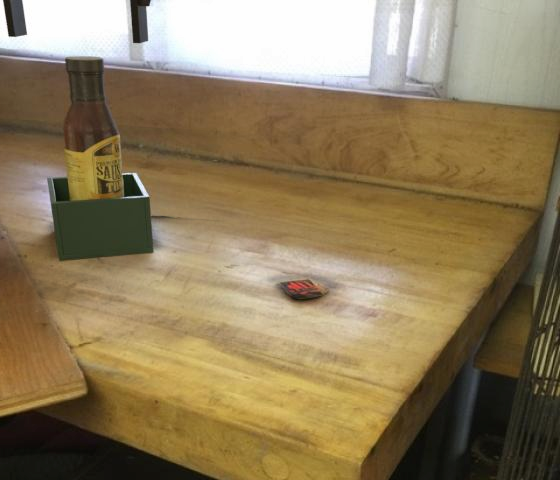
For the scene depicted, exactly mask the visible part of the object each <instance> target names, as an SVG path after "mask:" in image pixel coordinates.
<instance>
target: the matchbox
mask: <svg viewBox="0 0 560 480" xmlns="http://www.w3.org/2000/svg"><path fill="white" fill-rule="evenodd" d="M275 286H280V287H281V288H282V289H283V290H284V291H285V292H284V293H285V294H286V295H287V294H288V295H289V296H290V297H292V298H293V299H295V300H303V299H304V300H305V299H312V298H318V297H321V296H324V295H325V293H327V292H329V288H328V287H327V286H324V285H322V284H320V283H317V284H316V282H314V281H313V279H311V278H310V277H308V278H298V279H292V278H290V279H289V280H285V281H284V280H283V281H278V283H275Z"/></svg>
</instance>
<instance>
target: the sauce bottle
mask: <svg viewBox="0 0 560 480" xmlns="http://www.w3.org/2000/svg"><path fill="white" fill-rule="evenodd" d="M64 62H65V63H64V64H65V65H64V66H65V71H66V73H67V76H68V84H69V93H70V94H69V98H70V105H69V107H68V110H67V111H66V115H65V116H64V120H63V124H62V130H63V139H64V147H63V148H64V157H65V167H66V177H68V185H69V195H70V201H74V200H89V199H104V198H119V197H124V186H123V174H124V173H123V162H122V148H121V136H120V135H121V134H120V132H119V130H118V126H117V124H116V122H115V119H114V117H113V114H112V112H111V109H110V107H109V104H108V102H107V99H106V98H107V96H106V91H105V80H104V74H105V70H106V69H105V61H104V58H103V57H100V56H92V55H91V56H90V55H89V56H86V55H85V56H84V55H83V56H82V55H81V56H79V55H78V56H67V57H65V58H64Z"/></svg>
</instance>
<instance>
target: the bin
mask: <svg viewBox="0 0 560 480" xmlns="http://www.w3.org/2000/svg"><path fill="white" fill-rule="evenodd" d="M122 174H123V186H124V197H119V198H104V199H89V200H74V201H70V195H69V185H68V176H59V177H58V176H57V177H56V176H55V177H47V178H46V180H47V181H46V182H47V188H48V193H49V202H50V208H51V214H52V222H53V228H54V235H55V243H56V249H57V256H58V257H57V258H58V261H71V260H81V259H92V258H93V259H94V258H105V257H113V256H114V257H115V256H125V255H126V256H127V255H136V254H137V255H138V254H148V253H154V242H153V241H154V240H153V226H152V225H153V224H152V212H151V211H152V210H151V200H150V199H151V198H150V196H149V194H148V191H147V190H146V188H145V186H144V185H143V183H142V181H141V179H140V177H139V176H138V174H137V172H127V173H122Z"/></svg>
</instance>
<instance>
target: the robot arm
mask: <svg viewBox="0 0 560 480" xmlns="http://www.w3.org/2000/svg"><path fill="white" fill-rule="evenodd" d="M155 1H156V0H129V5H130V19H131V34H132V43H133V44H143V43H146V42H148V41H149V30H148V29H149V28H148V27H149V26H148V13H147V7H153V6H154V5H155ZM2 2H3V9H4V14H5V22H6V29H7V35H8V37H9V38H19V37H22V36H28V31H27V23H26V16H25V9H24V1H23V0H2Z"/></svg>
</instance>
